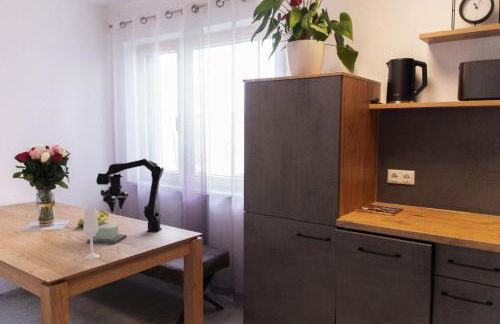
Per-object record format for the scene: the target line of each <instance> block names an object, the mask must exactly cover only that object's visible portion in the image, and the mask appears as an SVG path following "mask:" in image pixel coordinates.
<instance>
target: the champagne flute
mask: <svg viewBox="0 0 500 324" xmlns="http://www.w3.org/2000/svg"><path fill="white" fill-rule="evenodd" d="M96 214H97V209H96V206H91V205H90V206H85V207H84V215H83V220H84V225H83V230H82V231H83V234H85V235H86V236H87V237H88V238H89V239H90V243H89V245H90V248H89V249H90V252H89V253H88V254H87V255H86V256H84V259H86V260H94V259H97V258H99V257H100V255H99V254H98V253H95V252H94V243H93V237H94V236H96V233H97V232H98V230H99V229H98V226H99V225H98V222H97V215H96Z"/></svg>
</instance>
